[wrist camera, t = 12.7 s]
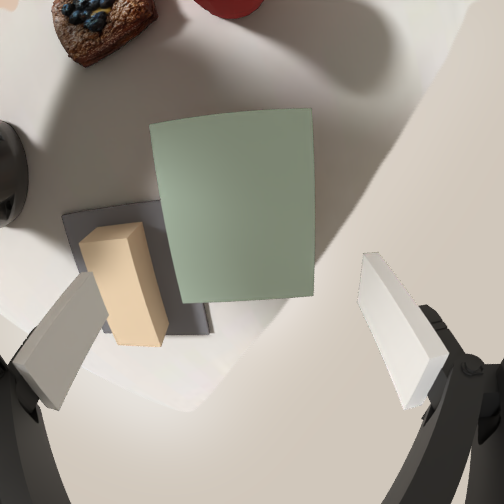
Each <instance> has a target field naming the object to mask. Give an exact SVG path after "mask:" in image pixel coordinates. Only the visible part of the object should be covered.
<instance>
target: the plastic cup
mask: <svg viewBox="0 0 504 504" xmlns="http://www.w3.org/2000/svg"><path fill="white" fill-rule="evenodd" d="M194 1H195V2H196V3H198V4H199V5H200V6H201V7H202V8H204V9H205V10H208V11H209V12H210V13H211V14H212V15H215V16H218V17H221V18H225V19H237V18H241V17H244V16H247V15H249V14H250V13H252V12H253V11H255V10H256V9H258V8H259V6H260V4H261V3H262V2H263V1H264V0H194Z"/></svg>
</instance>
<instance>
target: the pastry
mask: <svg viewBox="0 0 504 504" xmlns="http://www.w3.org/2000/svg"><path fill="white" fill-rule="evenodd" d="M53 4H54V5H53V6H52V10H51V12H52V16H53V23H54V27H55V30H56V34H57V36H58V38H59V40H60V42H61V44H62V46H63V47H64V49H65V50H66V52H67V53H68V54H69V55H68V57H71V58H72V59H73V61H75V62H77V63H79V64H80V65H82V66H83V67H85V68H86V67H88V66H91V65H93V64H95V63H97V62H98V61H100V60H101V59H103V58H105V57H107V56H108V55H110V54H112V53H113V52H115V51H116V50H119V49H120V48H121V47H122V46H124V45H125V44H126V43H127V42H129V41H130V40H132V39H133V38H135V37H136V36H138V35H139V34H140V33H141V32H142V31H143V30H145V29H146V28H147V27H148V26H149V25H150V24H151V23H152V22H153V21H155V20H156V19H157V18H158V16H157V12H156V8H155V4H154V0H55V1H54V2H53Z"/></svg>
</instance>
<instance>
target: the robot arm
mask: <svg viewBox="0 0 504 504" xmlns="http://www.w3.org/2000/svg"><path fill="white" fill-rule="evenodd" d="M27 187H28V170H27V162H26V157H25V153H24V149H23V146H22V143H21V141H20V139H19V137H18V135H17V134H16V132H15V131H14V129H13V128H12V127H11V126H10V125H8V124H7V123H5V122H3V121H0V228H2V227H4V226H5V225H7V224H9V223H10V222H12V221H13V220H14V219H16V218H17V216H18V215H19V214H20V212H21V210H22V208H23V206H24V203H25V199H26V195H27ZM357 303H358V305H359V307H360V309H361V311H362V313H363V315H364V317H365V320H366V322H367V324H368V326H369V328H370V331H371V333H372V335H373V337H374V339H375V342H376V344H377V346H378V349H379V351H380V353H381V355H382V358H383V360H384V362H385V365H386V367H387V370H388V372H389V374H390V377H391V379H392V382H393V384H394V386H395V389H396V392H397V394H398V396H399V399H400V401H401V404H402V407H403V409H404V410H406V409H410V408H414V407H417V406H420V405H422V404H423V402H424V400H425V399H426V397H427V396H428V398H429V400H430V402H431V404H430V406H429V408H428V409H427V411H426V412H425V414H424V415H423V417H422V419H423V423H422V425H421V428H420V430H419V432H418V435H417V437H416V439H415V441H414V444H413V446H412V448H411V450H410V452H409V454H408V456H407V458H406V460H405V462H404V464H403V466H402V468H401V470H400V472H399V474H398V476H397V478H396V479H395V481H394V483H393V485H392V487H391V488H390V490H389V492H388V494H387V495H386V497H385V499H384V500H383V502H382V503H381V504H451V502H452V499H453V497H454V495H455V492H456V489H457V487H458V485H459V482H460V479H461V477H462V474H463V471H464V468H465V465H466V462H467V459H468V456H469V453H470V449H471V461H470V473H469V480H468V488H467V494H466V500H465V504H504V359H503V360H502V362H501V364H484V362H483V361H482V360H481V359H480V358H479V357H477V356H475V355H472V354H465V352H464V351H463V349H462V348H461V346H460V345H459V343H458V342H457V340H456V339H455V337H454V336H453V334H452V333H451V332H450V330H449V329H447V326H446V324H445V323H444V322H443V321H442V319H441V317H440V316H439V315H438V313H437V312H436V311H435V310H434V309H432V308H431V307H429V306H428V305H421V306H418V305H417V304H416V302H415V301H414V299H413V298H412V296H411V295H410V294H409V292H408V291H407V289H406V288H405V287H404V285H403V284H402V283H401V281H400V280H399V279H398V277H397V276H396V275H395V273H394V272H393V271H392V269H391V268H390V267H389V265H388V264H387V263H386V262H385V260H384V259H383V258H382V257H381V255H380V254H379V253H378V252H372V253H363V260H362V269H361V277H360V285H359V292H358V300H357ZM108 316H109V314H108V311H107V309H106V307H105V304H104V302H103V299H102V296H101V294H100V291H99V289H98V286H97V283H96V281H95V278H94V275H93V272H81V273H80V274H79V275H78V276H77V277H76V279H75V280H74V281H73V282H72V283H71V284H70V286H69V287H68V288H67V289H66V290H65V292H64V293H63V294H62V295H61V296H60V298H59V299H58V300H57V301H56V303H55V304H54V305H53V306H52V308H51V309H50V310H49V311H48V313H47V314H46V315H45V317H44V318H43V319H42V321H41V322H40V323H39V325H38V326H36V327H35V328H34V329H33V330H32V331H31V332H30V334H29V335H28V337H27V339H25V341H24V342H23V345H21V347H20V348H19V349H18V351H17V352H16V353H15V355H14V357H13V358H12V359H11V361H10V362H9V364H8V365H7V364H6V363H5V361H4V360H3V358H2V357H1V355H0V504H71V503H70V500H69V498H68V496H67V493H66V491H65V488H64V486H63V483H62V481H61V478H60V475H59V472H58V469H57V467H56V464H55V460H54V457H53V454H52V451H51V448H50V444H49V441H48V437H47V434H46V430H45V426H44V422H43V417H42V413H41V409H40V407H39V406H38V405H37V402H38V400H39V399H40V400H41V401H42V402H43V404H44V405H45V406H46V407H47V408H51V409H54V410H57V411H59V410H60V408H61V406H62V403H63V401H64V399H65V397H66V395H67V393H68V391H69V388H70V387H71V385H72V382H73V381H74V379H75V377H76V375H77V373H78V371H79V369H80V367H81V365H82V363H83V361H84V359H85V357H86V355H87V353H88V352H89V350H90V348H91V346H92V344H93V342H94V340H95V339H96V337H97V335H98V333H99V332H100V330H101V328H102V326H103V324H104V323H105V321H106V319H107V317H108ZM471 446H472V447H471Z"/></svg>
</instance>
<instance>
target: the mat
mask: <svg viewBox="0 0 504 504" xmlns="http://www.w3.org/2000/svg"><path fill="white" fill-rule="evenodd" d="M62 220H63V223H64V227H65V230H66V234H67V237H68V240H69V244H70V247H71V250H72V253H73V256H74V259H75V262H76V265H77V268H78V270H79V273H81V272H93V275H94V278H95V281H96V283H97V286H98V289H99V291H100V294H101V296H102V299H103V302H104V304H105V307H106V309H107V311H108V314H109V316H108V317H107V319H106V321H105V323H104V324H103V326H102V329H103V332H104V333H113V335H114V338H115V340H116V342H117V344H118V345H126V346H148V347H161V346H162V343H163V340H164V337H165V335H209V332H210V331H209V326H208V322H207V317H206V312H205V308H204V303H183V302H182V298H181V294H180V290H179V286H178V282H177V278H176V273H175V269H174V265H173V260H172V256H171V251H170V246H169V241H168V237H167V232H166V227H165V222H164V216H163V211H162V206H161V200H156V201H148V202H140V203H133V204H126V205H119V206H112V207H106V208H99V209H93V210H87V211H81V212H75V213H69V214H64V215H63V216H62Z"/></svg>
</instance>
